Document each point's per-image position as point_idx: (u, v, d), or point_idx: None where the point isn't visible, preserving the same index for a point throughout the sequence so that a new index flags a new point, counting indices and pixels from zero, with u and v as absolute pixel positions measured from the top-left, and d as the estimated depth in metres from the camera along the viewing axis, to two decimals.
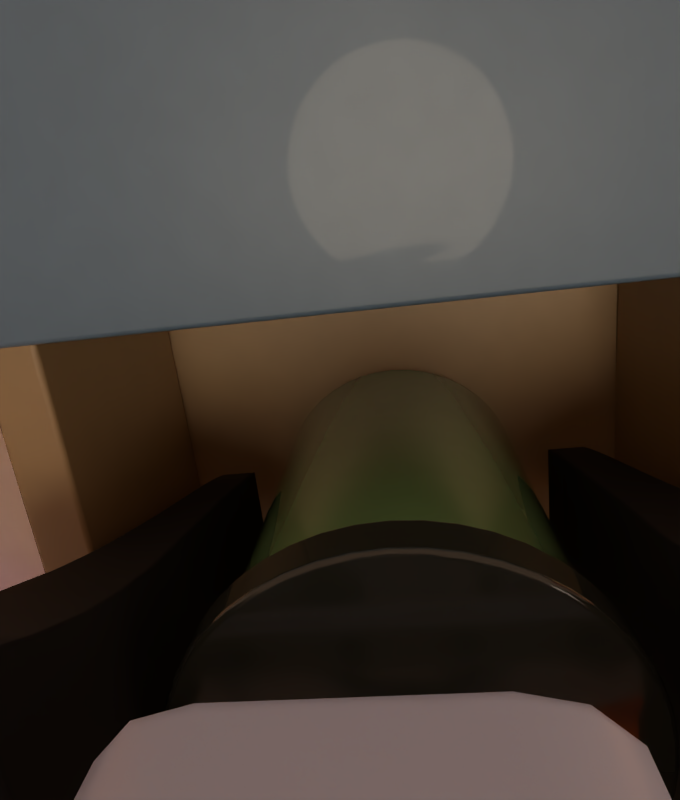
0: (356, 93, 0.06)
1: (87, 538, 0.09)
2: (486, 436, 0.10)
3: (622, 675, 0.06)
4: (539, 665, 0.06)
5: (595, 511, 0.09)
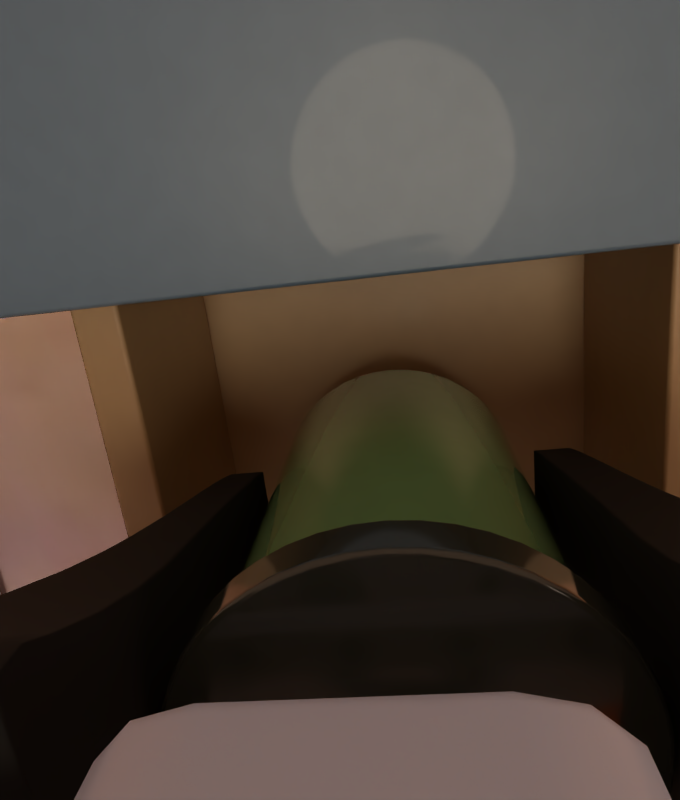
0: (370, 118, 0.08)
1: (152, 466, 0.11)
2: (484, 436, 0.10)
3: (618, 675, 0.06)
4: (534, 665, 0.06)
5: (577, 512, 0.09)
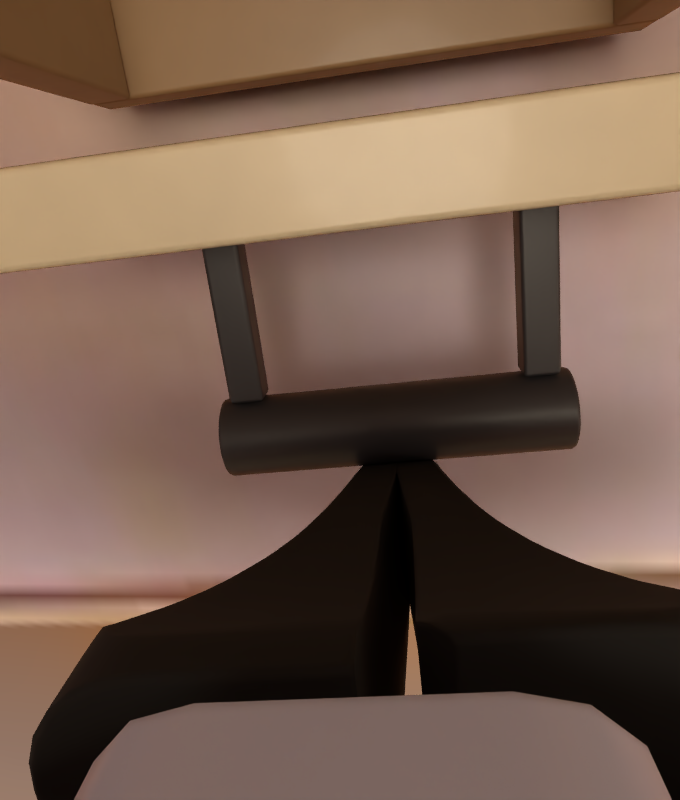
0: None
1: None
2: None
3: None
4: None
5: (407, 524, 0.09)
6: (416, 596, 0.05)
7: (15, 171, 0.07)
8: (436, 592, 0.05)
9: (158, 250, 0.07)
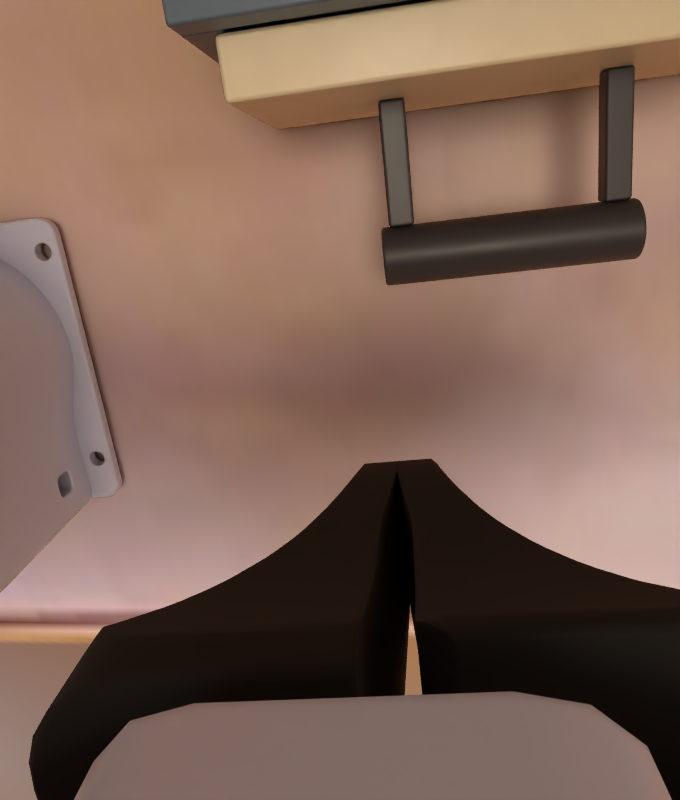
0: None
1: None
2: None
3: None
4: None
5: (407, 524, 0.09)
6: (416, 596, 0.05)
7: (302, 23, 0.11)
8: (436, 592, 0.05)
9: (389, 77, 0.12)
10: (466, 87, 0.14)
